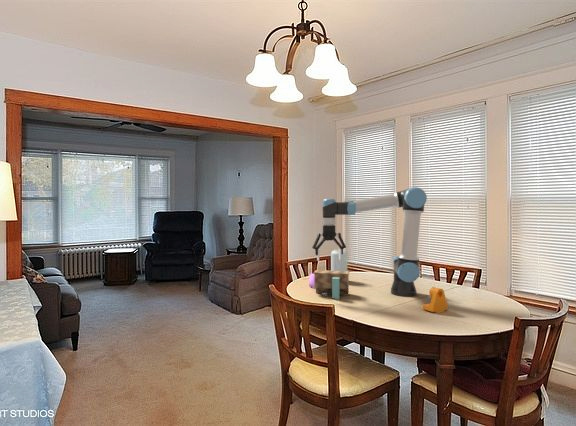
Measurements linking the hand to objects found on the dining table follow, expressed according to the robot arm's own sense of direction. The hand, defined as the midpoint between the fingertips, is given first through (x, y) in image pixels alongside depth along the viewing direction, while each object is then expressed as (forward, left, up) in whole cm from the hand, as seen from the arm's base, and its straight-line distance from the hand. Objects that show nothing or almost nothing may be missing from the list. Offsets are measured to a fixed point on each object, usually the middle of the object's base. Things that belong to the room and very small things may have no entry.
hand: (329, 260), depth 222 cm
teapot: (+9, -23, -22) cm, 33 cm away
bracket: (-57, +17, -22) cm, 63 cm away
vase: (-2, -45, -22) cm, 50 cm away
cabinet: (-1, -6, -22) cm, 23 cm away
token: (+3, -5, -22) cm, 23 cm away
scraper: (-4, -1, -22) cm, 22 cm away
